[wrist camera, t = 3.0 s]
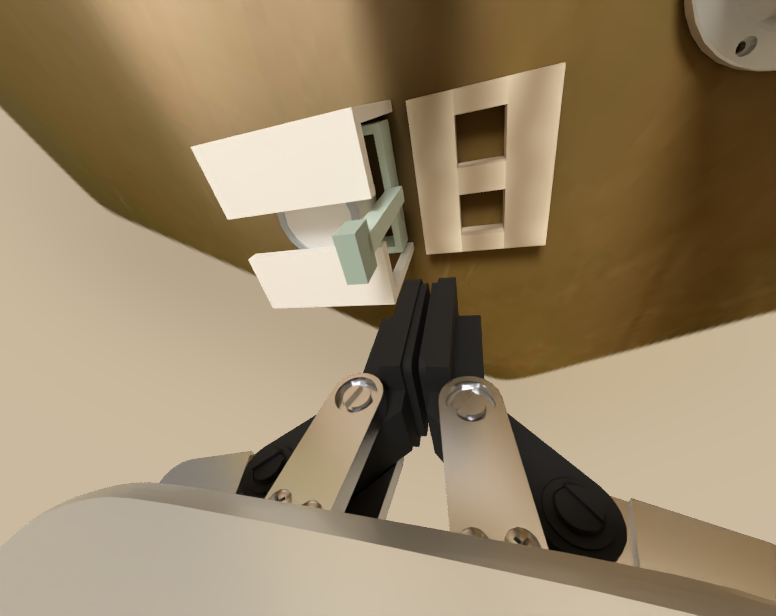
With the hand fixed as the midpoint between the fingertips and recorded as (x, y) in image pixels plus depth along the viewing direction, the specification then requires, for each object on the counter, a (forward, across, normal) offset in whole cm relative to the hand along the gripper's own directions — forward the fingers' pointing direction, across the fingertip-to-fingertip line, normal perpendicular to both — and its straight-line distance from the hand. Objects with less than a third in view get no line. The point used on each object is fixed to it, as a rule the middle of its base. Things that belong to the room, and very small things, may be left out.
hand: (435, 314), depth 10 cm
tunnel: (+19, +10, 0) cm, 21 cm away
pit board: (+19, -2, 0) cm, 19 cm away
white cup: (+19, +10, 0) cm, 22 cm away
